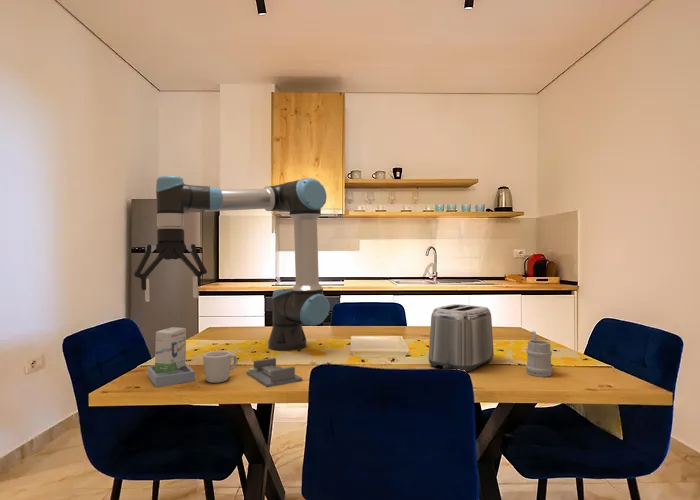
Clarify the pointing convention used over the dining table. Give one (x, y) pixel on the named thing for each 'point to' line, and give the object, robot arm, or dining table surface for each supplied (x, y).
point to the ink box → (170, 349)
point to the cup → (218, 365)
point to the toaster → (460, 337)
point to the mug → (538, 357)
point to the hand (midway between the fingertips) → (172, 299)
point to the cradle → (272, 373)
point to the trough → (171, 376)
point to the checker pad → (268, 369)
